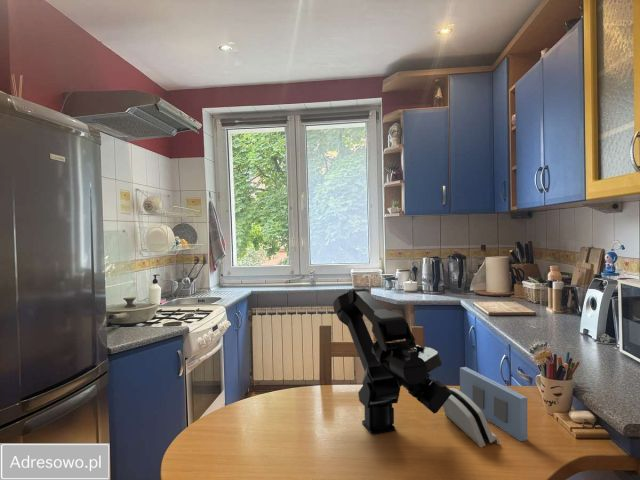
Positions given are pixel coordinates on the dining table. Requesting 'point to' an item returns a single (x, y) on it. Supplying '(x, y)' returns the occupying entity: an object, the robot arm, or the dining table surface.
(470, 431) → the white black-striped curved device
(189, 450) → the dining table surface
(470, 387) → the cabinet side panel
